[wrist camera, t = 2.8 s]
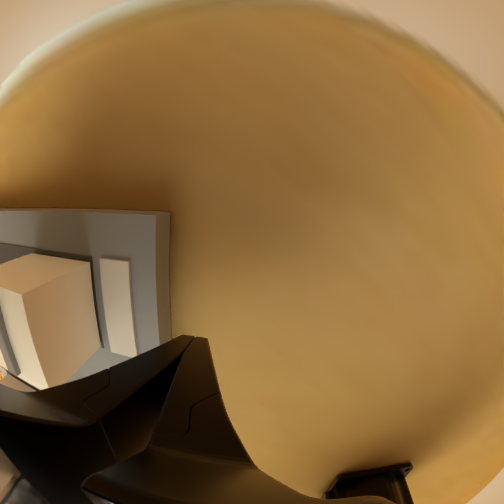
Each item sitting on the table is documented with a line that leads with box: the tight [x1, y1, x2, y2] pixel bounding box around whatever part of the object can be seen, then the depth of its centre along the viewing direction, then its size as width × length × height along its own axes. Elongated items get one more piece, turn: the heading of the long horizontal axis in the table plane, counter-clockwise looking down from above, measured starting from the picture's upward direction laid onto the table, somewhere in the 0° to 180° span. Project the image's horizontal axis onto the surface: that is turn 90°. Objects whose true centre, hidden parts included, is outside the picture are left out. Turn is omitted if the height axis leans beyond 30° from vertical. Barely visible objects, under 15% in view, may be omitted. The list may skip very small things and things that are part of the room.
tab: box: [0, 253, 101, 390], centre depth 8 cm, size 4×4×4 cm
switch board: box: [0, 208, 172, 391], centre depth 12 cm, size 16×18×2 cm
